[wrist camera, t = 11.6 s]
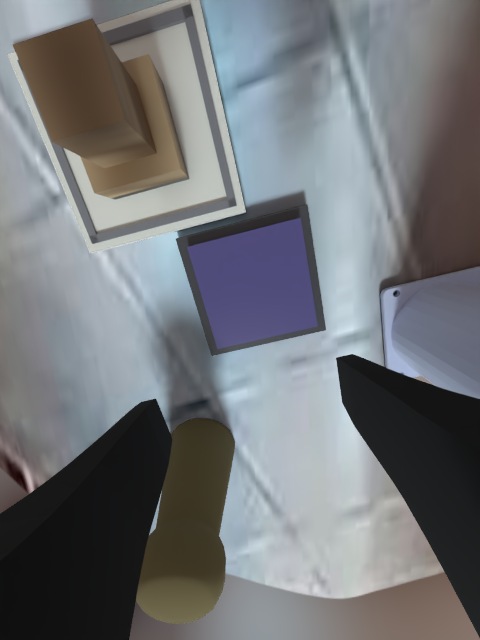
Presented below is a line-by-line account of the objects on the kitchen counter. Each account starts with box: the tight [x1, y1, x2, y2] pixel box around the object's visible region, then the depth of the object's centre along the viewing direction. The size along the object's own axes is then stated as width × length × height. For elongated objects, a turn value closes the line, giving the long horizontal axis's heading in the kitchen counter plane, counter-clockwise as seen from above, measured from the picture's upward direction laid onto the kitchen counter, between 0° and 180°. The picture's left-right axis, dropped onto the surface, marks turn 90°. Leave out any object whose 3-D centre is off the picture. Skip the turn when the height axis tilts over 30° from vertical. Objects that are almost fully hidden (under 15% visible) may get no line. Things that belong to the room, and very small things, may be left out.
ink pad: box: [176, 205, 326, 356], centre depth 18 cm, size 9×9×1 cm
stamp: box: [13, 19, 189, 200], centre depth 12 cm, size 5×5×6 cm
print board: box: [7, 0, 246, 253], centre depth 16 cm, size 11×11×1 cm
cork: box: [136, 418, 235, 623], centre depth 18 cm, size 6×6×11 cm
